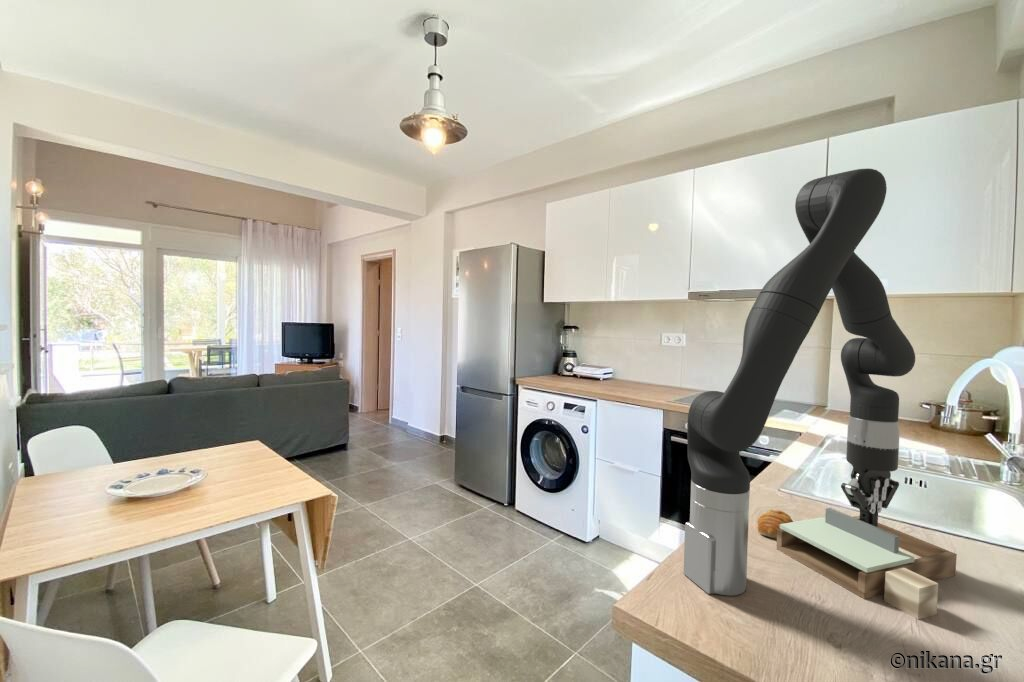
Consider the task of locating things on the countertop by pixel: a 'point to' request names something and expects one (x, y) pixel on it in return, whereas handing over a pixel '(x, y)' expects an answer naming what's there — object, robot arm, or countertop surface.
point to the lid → (851, 540)
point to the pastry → (772, 522)
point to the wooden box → (927, 564)
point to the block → (911, 593)
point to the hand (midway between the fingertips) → (868, 529)
